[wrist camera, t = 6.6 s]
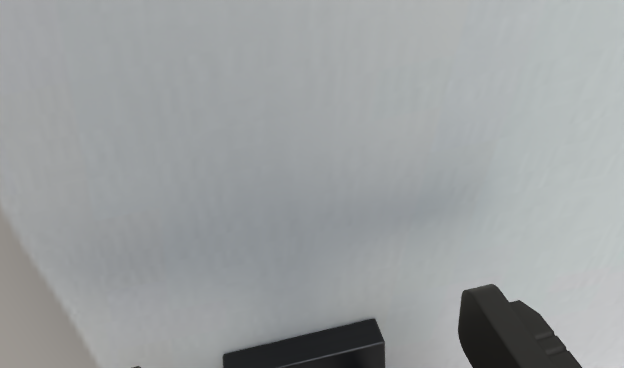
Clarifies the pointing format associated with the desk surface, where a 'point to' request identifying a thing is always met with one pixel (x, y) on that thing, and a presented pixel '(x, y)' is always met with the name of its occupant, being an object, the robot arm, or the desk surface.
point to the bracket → (318, 350)
